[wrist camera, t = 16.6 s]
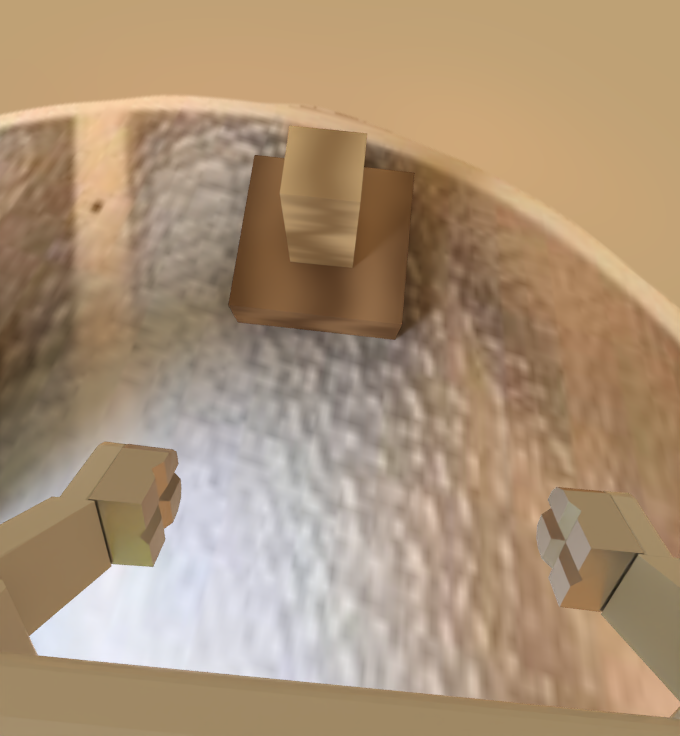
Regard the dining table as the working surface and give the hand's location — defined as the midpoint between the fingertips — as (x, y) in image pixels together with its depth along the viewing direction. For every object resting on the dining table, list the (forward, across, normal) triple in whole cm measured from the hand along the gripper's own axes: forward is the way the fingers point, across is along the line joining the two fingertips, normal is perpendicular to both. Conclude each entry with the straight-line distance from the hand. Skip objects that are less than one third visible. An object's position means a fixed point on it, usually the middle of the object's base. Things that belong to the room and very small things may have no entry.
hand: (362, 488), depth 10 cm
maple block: (+26, +3, +2) cm, 27 cm away
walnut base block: (+29, +3, +5) cm, 30 cm away
